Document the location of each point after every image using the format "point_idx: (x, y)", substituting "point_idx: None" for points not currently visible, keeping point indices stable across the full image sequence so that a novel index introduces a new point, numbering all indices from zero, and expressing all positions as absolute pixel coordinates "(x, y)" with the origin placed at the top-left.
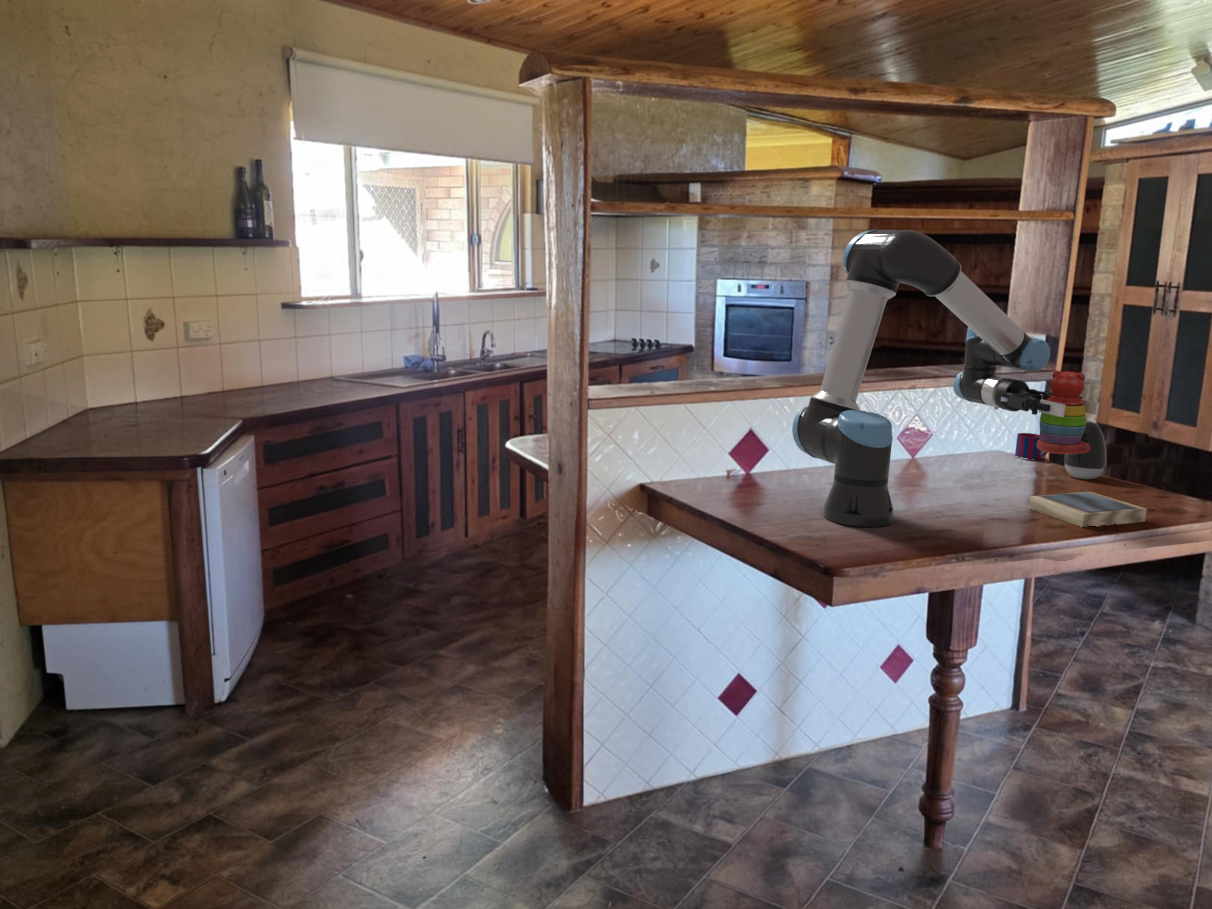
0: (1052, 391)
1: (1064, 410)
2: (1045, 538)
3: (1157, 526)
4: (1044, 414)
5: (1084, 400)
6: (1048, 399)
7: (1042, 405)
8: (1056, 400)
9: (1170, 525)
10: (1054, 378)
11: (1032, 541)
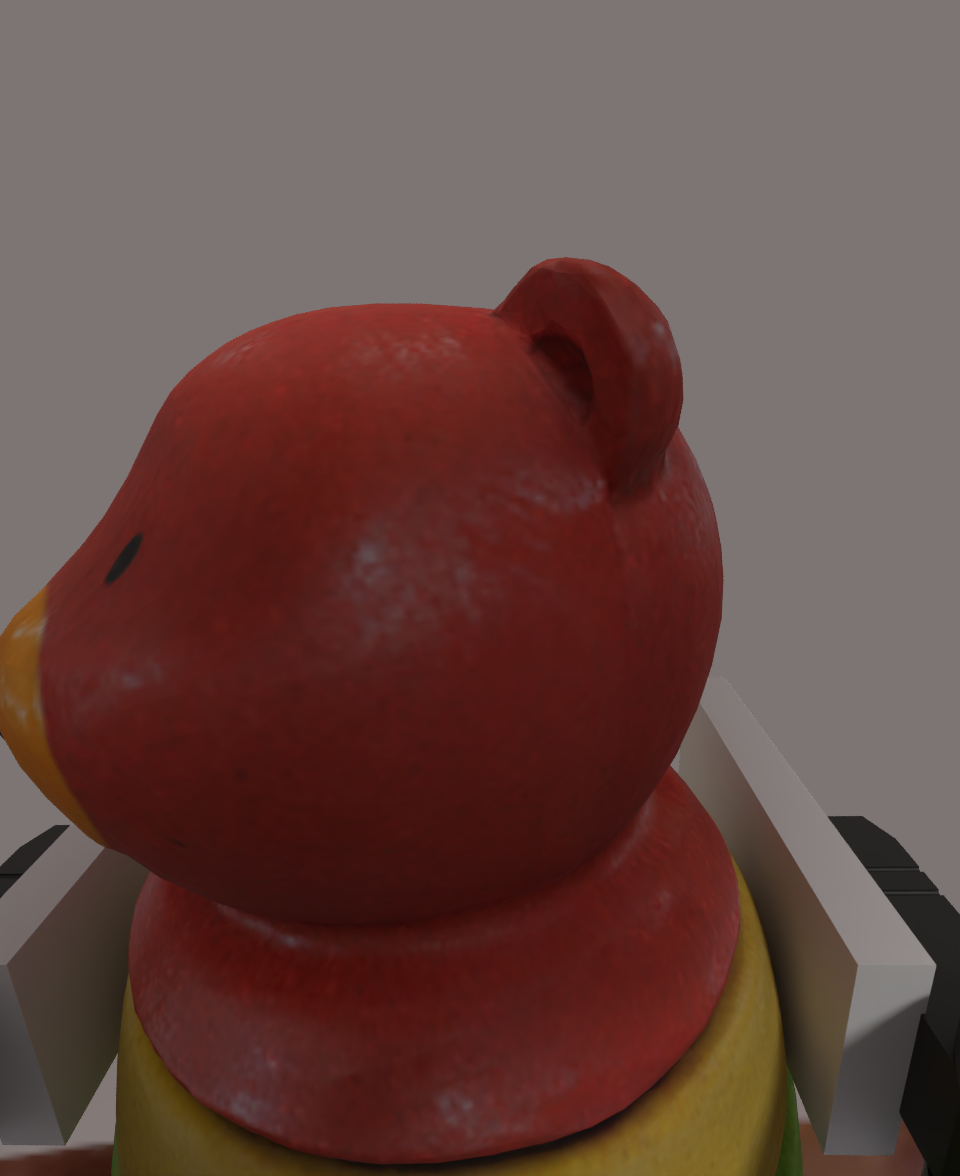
0: (674, 757)
1: (685, 735)
2: (820, 1158)
3: (101, 1162)
4: (792, 1082)
5: None
6: (721, 930)
7: (917, 885)
8: (679, 776)
9: (26, 1156)
10: (689, 464)
11: (910, 1134)
